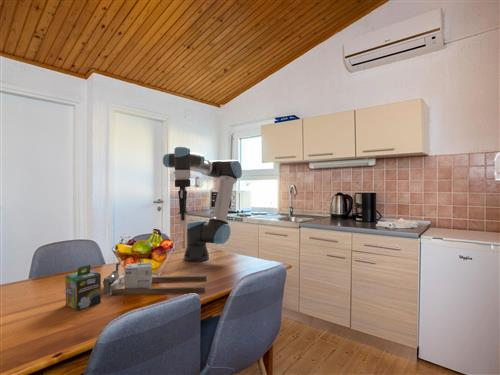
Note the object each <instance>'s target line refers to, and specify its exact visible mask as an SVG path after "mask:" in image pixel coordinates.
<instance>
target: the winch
mask: <svg viewBox="0 0 500 375" xmlns="http://www.w3.org/2000/svg"><path fill="white" fill-rule="evenodd" d="M120 265H121V262H117V263H116V264H115V270H112V273H110V274H109V275H108V276H107V277H105V278H103V281H102V285H103V294H109V293H110V285H111V284H113V283H114V282H115V281H116V280H117V279H118V278H119V277H120V274H119V266H120Z"/></svg>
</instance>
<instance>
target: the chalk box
mask: <svg viewBox="0 0 500 375" xmlns="http://www.w3.org/2000/svg"><path fill="white" fill-rule="evenodd" d="M91 268H92V266H91V264H88V265H83V266H80V267H78V268H77V271H76V272H74V273H70V274H67V275H66V274H65V276H64V278H65V281H64V282H65V305H66V306H67V307H69V308H70V309H73V310H75V311H77V312H78V311H80V310H83V309H87V308H89V307H92V306H95V305H99V304H101V303H102V296H101V295H102V293H101V292H102V280H101V279H102V278H101V277H102V276H101V275H102V273H100V272H97V271H95V270H92V269H91Z"/></svg>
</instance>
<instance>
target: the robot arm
mask: <svg viewBox="0 0 500 375" xmlns="http://www.w3.org/2000/svg"><path fill="white" fill-rule="evenodd" d="M162 164H163V166H164V167H166V168H171V169H173V168H174V171H173V174H174V187H175V188H179V190H178V191H177V195H178V201H179V202H178V206H179V212H178V215H179V226H180V228H186V227H187V228H186V248H185V251H184V255H183V260H184V261H186V262H204V261H207V260H209V259H210V254H209V250H208V247H207V244H214V245H224V244H225V243H226V242H228V240H229V239H230V235H231V226H230V225H229V222H228V219H227V218H228V214H229V209H230V204H231V199H232V198H231V197H232V194H233V188H234V184H236V183H237V181H238V179H240V178H241V177H242V174H243V172H242V171H243V170H242V165H241V163H240V161H239V160H237V159H222V160H219V159H218V160H217V159H216V160H207V159H205V156H204V155H203V154H202V153H200V152H191V149H190V147H189V146H177V147H175V148H174V152H173V153H171V152H170V153H166V154H164V155H163V157H162ZM191 172H195V173H200V174H201V175H203V176H207V177H210V178H211V177H212V178H217V179H218V180H219V184H218V185H219V186H218V190H217V194H216V199H215V204H214V208H213V209H214V210H213V213H212V216H211V218H209V220H208V222H207V220H204V219H203V220H194V221H189V222H188V223H187V214H188V211H187V199H188V196H187V194H188V190H186V188H190V187H191V179H190V178H191Z"/></svg>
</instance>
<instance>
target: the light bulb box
mask: <svg viewBox="0 0 500 375" xmlns="http://www.w3.org/2000/svg"><path fill="white" fill-rule="evenodd" d="M152 265H153V264H152V262H139V263H138V262H136V263H127V264H126V265H125V267H124V273H125V284H124V289H128V288H153V287H152V285H153V282H152V277H153V276H152V273H153V272H152V267H153V266H152Z"/></svg>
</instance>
